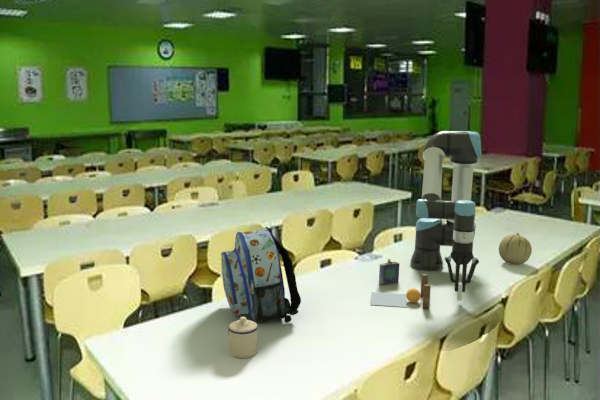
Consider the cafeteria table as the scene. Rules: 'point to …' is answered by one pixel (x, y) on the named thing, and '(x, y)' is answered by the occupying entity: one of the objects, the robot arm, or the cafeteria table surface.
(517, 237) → the cantaloupe
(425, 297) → the post
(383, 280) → the flask
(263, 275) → the backpack
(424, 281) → the post
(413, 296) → the ball
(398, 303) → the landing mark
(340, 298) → the cafeteria table surface
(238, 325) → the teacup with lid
